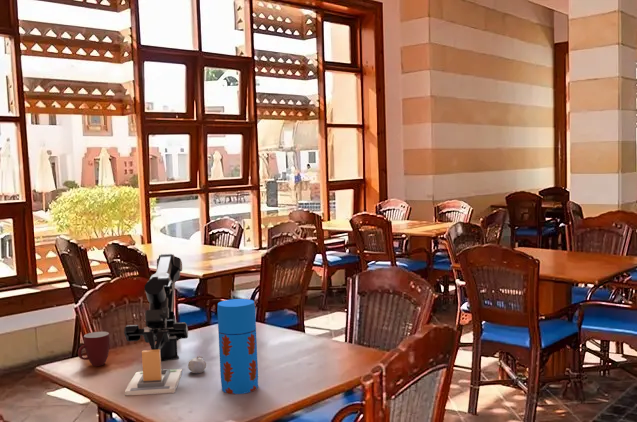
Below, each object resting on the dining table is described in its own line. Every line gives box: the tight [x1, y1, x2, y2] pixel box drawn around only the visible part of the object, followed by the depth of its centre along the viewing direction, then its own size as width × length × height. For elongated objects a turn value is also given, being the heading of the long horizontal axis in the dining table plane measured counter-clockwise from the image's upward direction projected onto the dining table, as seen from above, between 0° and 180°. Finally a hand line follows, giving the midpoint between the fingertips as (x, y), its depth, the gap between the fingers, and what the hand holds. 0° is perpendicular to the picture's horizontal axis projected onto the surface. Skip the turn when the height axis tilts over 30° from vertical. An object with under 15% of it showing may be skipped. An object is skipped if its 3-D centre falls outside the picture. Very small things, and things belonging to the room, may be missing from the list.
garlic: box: [187, 355, 207, 374], centre depth 216 cm, size 6×5×5 cm
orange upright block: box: [141, 349, 162, 383], centre depth 202 cm, size 4×5×10 cm
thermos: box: [216, 298, 259, 395], centre depth 199 cm, size 11×11×25 cm
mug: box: [77, 331, 111, 367], centre depth 227 cm, size 11×8×10 cm
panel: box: [124, 368, 183, 396], centre depth 206 cm, size 18×14×2 cm
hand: (154, 356), depth 207 cm, fingers closed
